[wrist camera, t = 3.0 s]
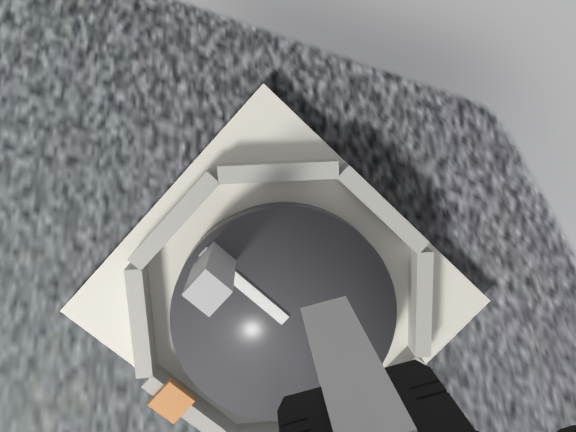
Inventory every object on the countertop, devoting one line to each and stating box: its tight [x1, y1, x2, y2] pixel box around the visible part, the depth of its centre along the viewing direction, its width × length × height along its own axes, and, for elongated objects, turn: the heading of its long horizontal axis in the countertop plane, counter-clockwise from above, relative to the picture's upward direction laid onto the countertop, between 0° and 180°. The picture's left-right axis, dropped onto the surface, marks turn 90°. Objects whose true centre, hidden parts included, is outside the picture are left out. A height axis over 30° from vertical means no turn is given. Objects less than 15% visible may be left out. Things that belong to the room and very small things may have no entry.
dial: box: [170, 202, 397, 422], centre depth 32 cm, size 16×16×8 cm
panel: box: [60, 83, 490, 432], centre depth 35 cm, size 24×22×4 cm
